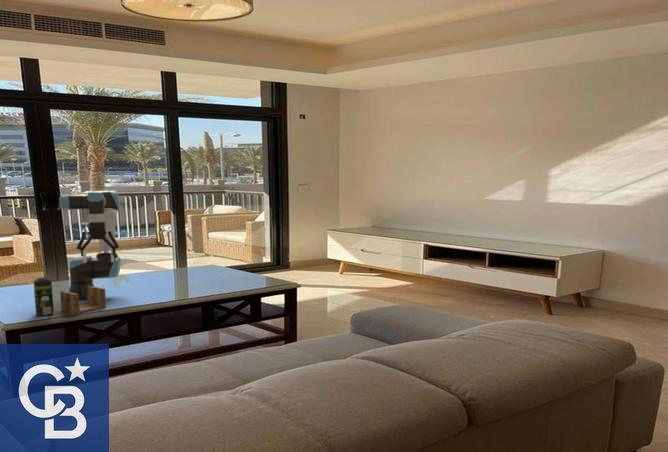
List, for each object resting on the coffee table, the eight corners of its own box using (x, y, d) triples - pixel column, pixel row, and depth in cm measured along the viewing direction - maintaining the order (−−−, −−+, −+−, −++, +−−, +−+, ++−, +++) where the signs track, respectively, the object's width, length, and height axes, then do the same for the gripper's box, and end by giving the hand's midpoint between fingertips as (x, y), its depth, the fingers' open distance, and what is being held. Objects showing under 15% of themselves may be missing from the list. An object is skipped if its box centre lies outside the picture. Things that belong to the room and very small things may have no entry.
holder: (59, 311, 263) (58, 291, 262) (91, 303, 278) (90, 285, 277) (75, 314, 255) (74, 294, 254) (107, 307, 270) (106, 288, 269)
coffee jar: (35, 313, 259) (32, 277, 257) (52, 310, 264) (50, 275, 262) (36, 317, 251) (34, 280, 249) (54, 314, 256) (52, 278, 254)
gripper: (68, 222, 257) (70, 264, 259) (120, 221, 261) (122, 262, 263) (73, 221, 264) (75, 261, 267) (123, 220, 269) (125, 260, 271)
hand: (98, 262), depth 265 cm, fingers open, 13 cm apart
